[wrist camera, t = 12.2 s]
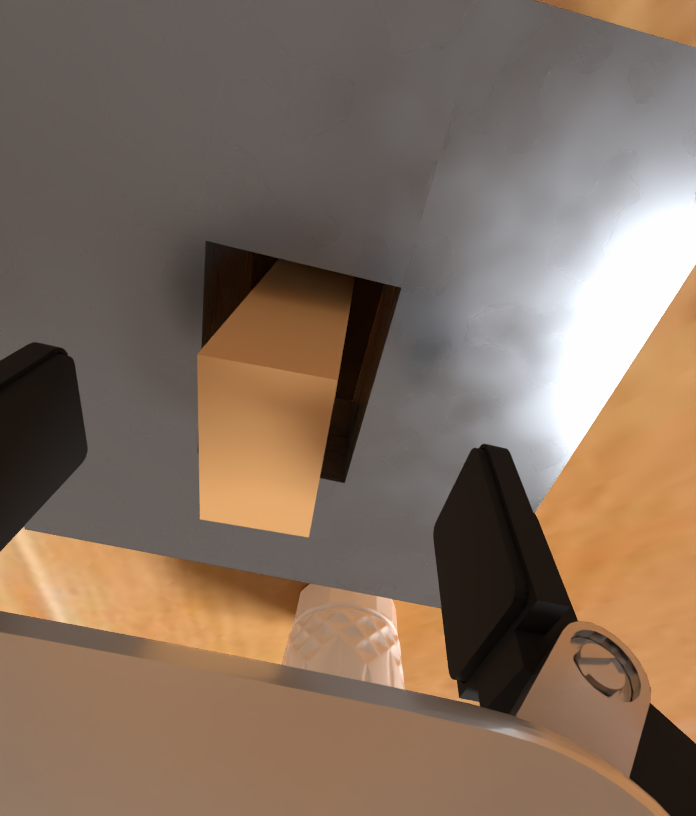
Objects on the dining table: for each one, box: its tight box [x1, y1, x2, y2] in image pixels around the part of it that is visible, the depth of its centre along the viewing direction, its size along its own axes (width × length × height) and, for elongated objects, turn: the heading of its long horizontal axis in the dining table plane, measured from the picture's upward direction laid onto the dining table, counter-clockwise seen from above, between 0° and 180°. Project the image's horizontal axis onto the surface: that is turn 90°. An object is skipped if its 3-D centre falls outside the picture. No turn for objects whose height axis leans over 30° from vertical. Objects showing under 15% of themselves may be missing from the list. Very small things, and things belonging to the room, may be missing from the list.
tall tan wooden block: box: [197, 258, 355, 537], centre depth 15 cm, size 3×5×10 cm, turn 170°
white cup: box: [282, 584, 405, 690], centre depth 25 cm, size 8×8×10 cm
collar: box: [0, 0, 696, 608], centre depth 16 cm, size 20×20×6 cm
